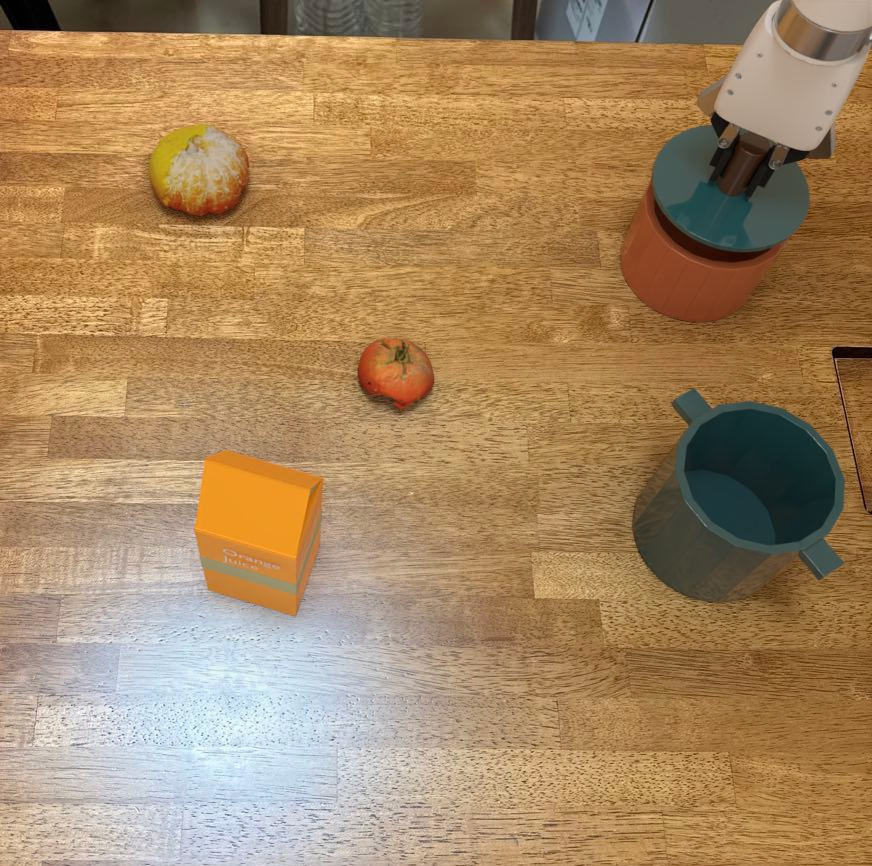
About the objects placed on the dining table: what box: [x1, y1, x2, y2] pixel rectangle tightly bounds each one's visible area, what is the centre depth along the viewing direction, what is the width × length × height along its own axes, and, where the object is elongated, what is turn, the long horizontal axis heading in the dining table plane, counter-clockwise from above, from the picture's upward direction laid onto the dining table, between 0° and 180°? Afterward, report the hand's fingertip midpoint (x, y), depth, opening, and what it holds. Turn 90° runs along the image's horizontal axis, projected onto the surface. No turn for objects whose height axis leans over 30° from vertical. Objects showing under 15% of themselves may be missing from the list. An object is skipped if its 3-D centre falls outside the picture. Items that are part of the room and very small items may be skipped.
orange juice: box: [193, 449, 324, 617], centre depth 88 cm, size 8×9×20 cm
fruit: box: [147, 123, 250, 217], centre depth 112 cm, size 11×10×8 cm
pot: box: [632, 387, 846, 603], centre depth 94 cm, size 15×20×12 cm
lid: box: [650, 124, 811, 252], centre depth 99 cm, size 16×16×7 cm
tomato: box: [357, 337, 435, 410], centre depth 104 cm, size 8×7×7 cm
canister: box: [619, 178, 790, 323], centre depth 108 cm, size 15×15×9 cm
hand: (735, 177), depth 100 cm, fingers closed on lid, 3 cm apart
